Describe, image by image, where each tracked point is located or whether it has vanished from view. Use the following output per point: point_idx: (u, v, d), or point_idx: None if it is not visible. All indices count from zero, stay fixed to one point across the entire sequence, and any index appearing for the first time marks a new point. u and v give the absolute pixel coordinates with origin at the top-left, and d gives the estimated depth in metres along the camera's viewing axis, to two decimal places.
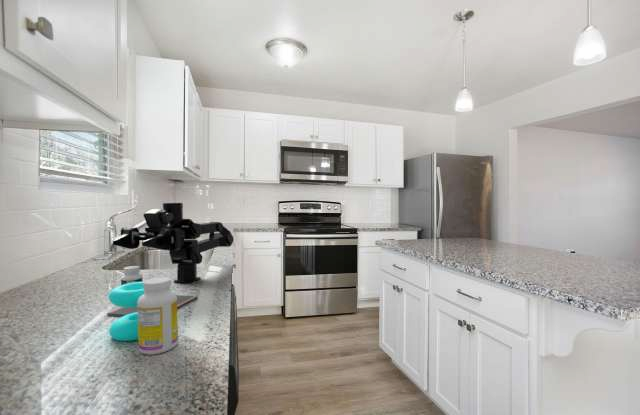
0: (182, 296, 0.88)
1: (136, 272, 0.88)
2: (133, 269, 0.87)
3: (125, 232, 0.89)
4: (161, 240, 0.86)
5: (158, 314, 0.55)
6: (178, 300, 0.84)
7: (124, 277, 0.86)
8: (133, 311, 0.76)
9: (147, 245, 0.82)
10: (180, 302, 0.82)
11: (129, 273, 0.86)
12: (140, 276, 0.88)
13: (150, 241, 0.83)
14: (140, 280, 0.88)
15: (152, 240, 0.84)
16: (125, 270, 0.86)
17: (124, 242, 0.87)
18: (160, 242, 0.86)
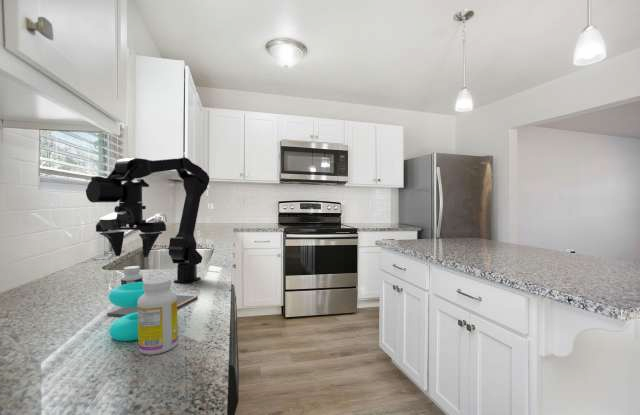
0: (182, 296, 0.88)
1: (136, 272, 0.88)
2: (133, 269, 0.87)
3: (106, 236, 0.87)
4: (148, 237, 0.87)
5: (158, 314, 0.55)
6: (178, 300, 0.84)
7: (124, 277, 0.86)
8: (133, 311, 0.76)
9: (148, 252, 0.88)
10: (180, 302, 0.82)
11: (129, 273, 0.86)
12: (140, 276, 0.88)
13: (146, 250, 0.87)
14: (140, 280, 0.88)
15: (146, 248, 0.87)
16: (125, 270, 0.86)
17: (118, 242, 0.90)
18: (150, 238, 0.87)
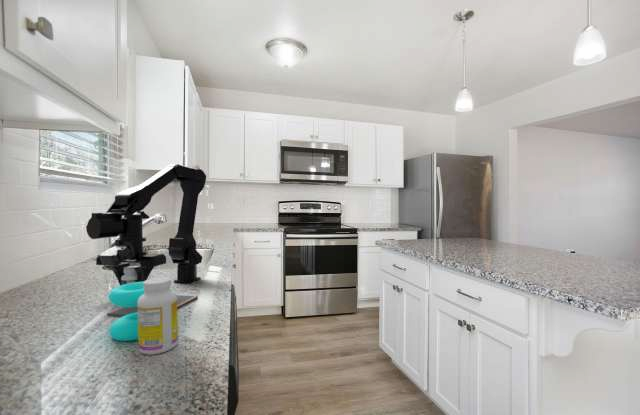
0: (182, 296, 0.88)
1: (136, 272, 0.88)
2: (133, 269, 0.87)
3: (112, 269, 0.87)
4: (143, 270, 0.87)
5: (158, 314, 0.55)
6: (178, 300, 0.84)
7: (124, 277, 0.86)
8: (133, 311, 0.76)
9: None
10: (180, 302, 0.82)
11: (129, 273, 0.86)
12: None
13: None
14: None
15: (141, 280, 0.87)
16: (125, 270, 0.86)
17: None
18: (145, 271, 0.88)
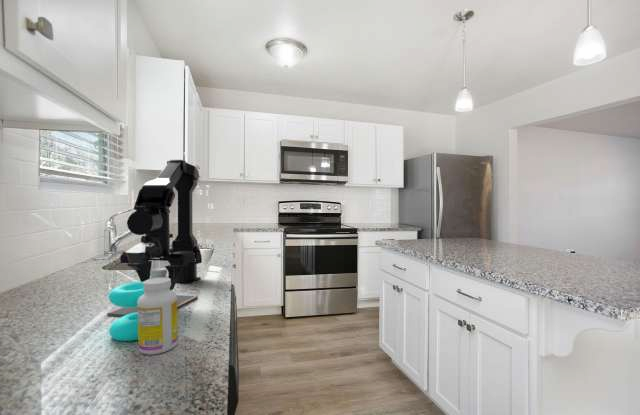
0: (182, 296, 0.88)
1: (163, 275, 0.81)
2: (160, 271, 0.81)
3: (134, 268, 0.81)
4: (174, 268, 0.81)
5: (158, 314, 0.55)
6: (178, 300, 0.84)
7: None
8: (133, 311, 0.76)
9: (174, 285, 0.82)
10: (180, 302, 0.82)
11: (156, 275, 0.80)
12: None
13: (172, 283, 0.81)
14: None
15: (172, 280, 0.81)
16: (152, 272, 0.80)
17: (146, 273, 0.83)
18: (176, 270, 0.81)
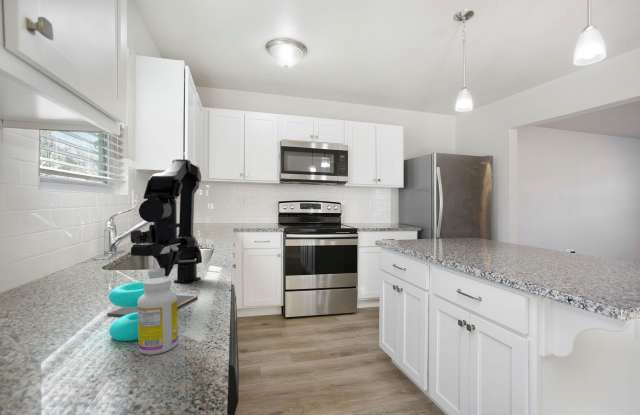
0: (182, 296, 0.88)
1: (162, 275, 0.81)
2: (158, 272, 0.80)
3: None
4: (162, 257, 0.83)
5: (158, 314, 0.55)
6: (178, 300, 0.84)
7: None
8: (133, 311, 0.76)
9: (166, 273, 0.84)
10: (180, 302, 0.82)
11: (154, 276, 0.79)
12: None
13: None
14: None
15: (162, 267, 0.84)
16: (150, 273, 0.79)
17: None
18: (164, 258, 0.83)
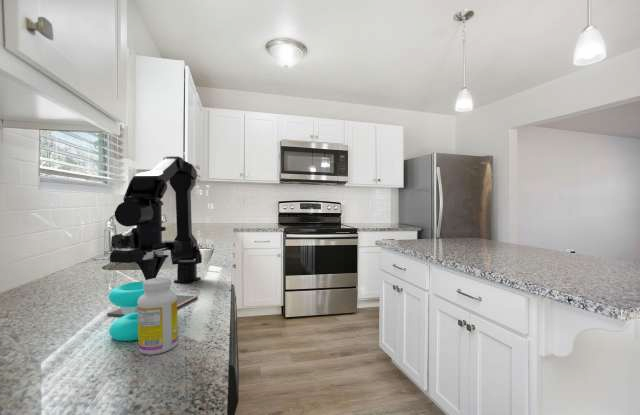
0: (182, 296, 0.88)
1: None
2: None
3: None
4: (145, 263, 0.78)
5: (158, 314, 0.55)
6: (178, 300, 0.84)
7: None
8: None
9: None
10: (180, 302, 0.82)
11: None
12: None
13: (145, 277, 0.78)
14: None
15: (145, 274, 0.78)
16: None
17: None
18: (147, 264, 0.77)
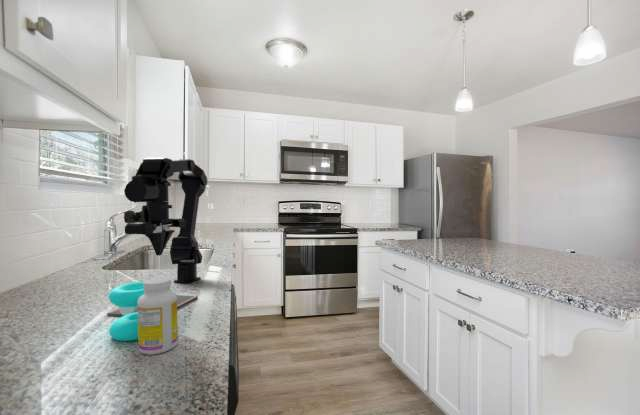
0: (182, 296, 0.88)
1: None
2: None
3: None
4: (155, 236, 0.87)
5: (158, 314, 0.55)
6: (178, 300, 0.84)
7: None
8: None
9: (158, 251, 0.88)
10: (180, 302, 0.82)
11: None
12: None
13: (155, 249, 0.88)
14: None
15: (154, 246, 0.88)
16: None
17: None
18: (156, 238, 0.87)
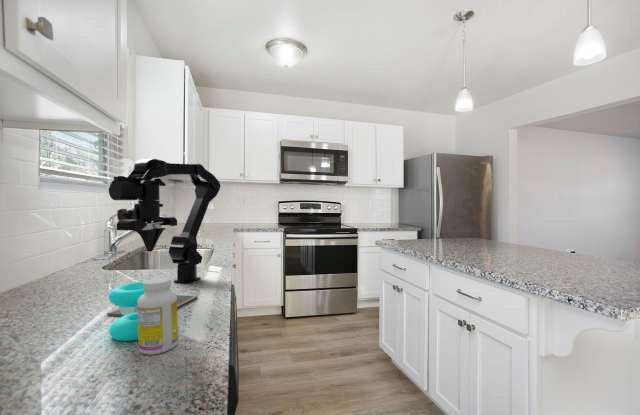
0: (182, 296, 0.88)
1: (137, 309, 0.72)
2: None
3: None
4: (146, 233, 0.92)
5: (158, 314, 0.55)
6: (178, 300, 0.84)
7: None
8: None
9: (149, 248, 0.93)
10: (180, 302, 0.82)
11: None
12: None
13: (146, 245, 0.93)
14: None
15: (145, 243, 0.93)
16: None
17: None
18: (147, 234, 0.92)
